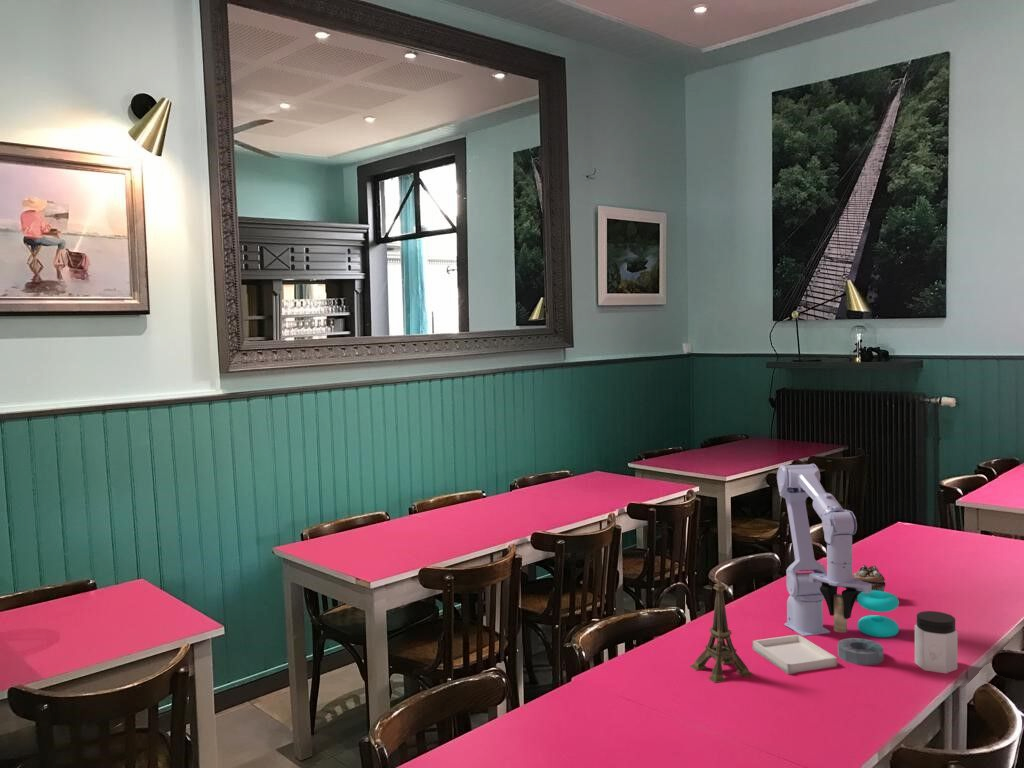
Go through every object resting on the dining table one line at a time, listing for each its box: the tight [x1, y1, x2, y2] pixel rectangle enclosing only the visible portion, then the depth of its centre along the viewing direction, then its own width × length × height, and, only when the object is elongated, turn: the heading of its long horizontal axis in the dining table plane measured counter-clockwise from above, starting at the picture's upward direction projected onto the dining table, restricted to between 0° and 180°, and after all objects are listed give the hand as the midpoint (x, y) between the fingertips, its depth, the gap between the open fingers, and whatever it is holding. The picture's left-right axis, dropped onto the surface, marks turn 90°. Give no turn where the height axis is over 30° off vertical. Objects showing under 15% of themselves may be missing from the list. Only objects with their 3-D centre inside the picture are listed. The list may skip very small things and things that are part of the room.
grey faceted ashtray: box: [837, 637, 884, 666], centre depth 202 cm, size 10×10×3 cm
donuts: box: [856, 590, 900, 638], centre depth 218 cm, size 10×10×10 cm
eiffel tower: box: [689, 573, 754, 684], centre depth 197 cm, size 11×11×25 cm
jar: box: [914, 610, 959, 674], centre depth 195 cm, size 9×8×12 cm
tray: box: [752, 633, 838, 675], centre depth 203 cm, size 16×13×2 cm
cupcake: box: [852, 564, 887, 603], centre depth 244 cm, size 10×10×10 cm
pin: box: [833, 593, 848, 634], centre depth 202 cm, size 3×3×8 cm
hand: (840, 616), depth 202 cm, fingers closed on pin, 3 cm apart
